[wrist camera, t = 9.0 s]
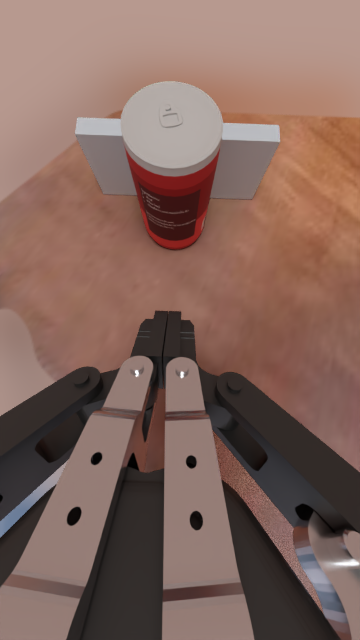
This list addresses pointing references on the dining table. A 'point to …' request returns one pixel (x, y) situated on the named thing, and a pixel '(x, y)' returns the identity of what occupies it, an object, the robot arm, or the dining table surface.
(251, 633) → the robot arm
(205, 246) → the dining table surface
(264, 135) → the stop board
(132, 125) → the canned food
